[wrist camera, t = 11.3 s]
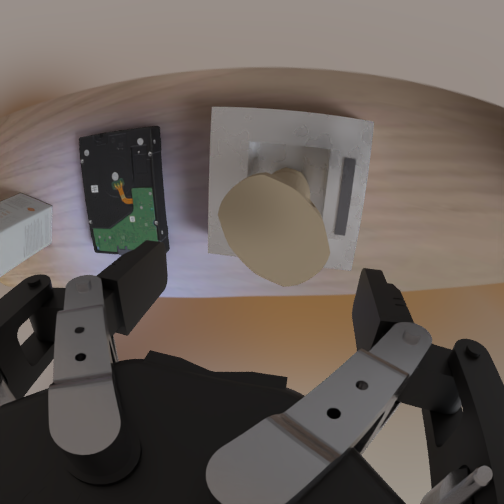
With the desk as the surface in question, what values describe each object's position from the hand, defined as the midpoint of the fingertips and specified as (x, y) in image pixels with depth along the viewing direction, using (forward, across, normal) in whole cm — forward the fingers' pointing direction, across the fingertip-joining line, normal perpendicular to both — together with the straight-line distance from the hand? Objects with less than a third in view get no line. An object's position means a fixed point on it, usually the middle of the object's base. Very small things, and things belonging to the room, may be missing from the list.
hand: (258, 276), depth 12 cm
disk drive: (+21, +19, +2) cm, 29 cm away
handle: (+20, 0, 0) cm, 20 cm away
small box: (+21, +37, +7) cm, 43 cm away
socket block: (+21, 0, 0) cm, 21 cm away
